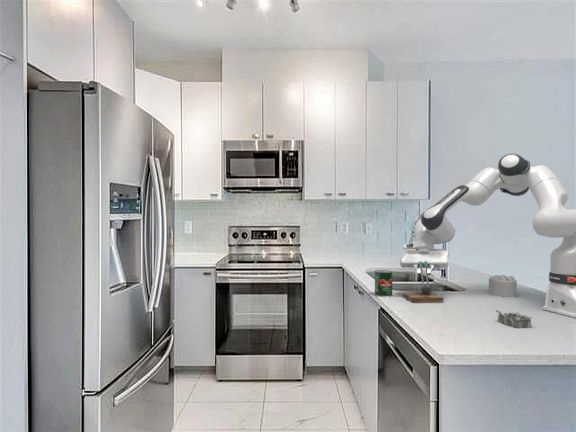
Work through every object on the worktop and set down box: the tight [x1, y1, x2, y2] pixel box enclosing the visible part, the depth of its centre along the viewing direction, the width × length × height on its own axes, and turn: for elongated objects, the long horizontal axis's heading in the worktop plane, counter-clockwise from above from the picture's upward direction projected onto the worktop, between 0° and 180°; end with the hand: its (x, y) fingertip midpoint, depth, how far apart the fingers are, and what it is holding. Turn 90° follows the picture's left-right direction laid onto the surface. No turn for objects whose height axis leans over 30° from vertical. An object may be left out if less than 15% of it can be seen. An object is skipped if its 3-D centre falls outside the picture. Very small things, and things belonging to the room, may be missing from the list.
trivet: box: [402, 291, 444, 304], centre depth 191 cm, size 13×13×2 cm
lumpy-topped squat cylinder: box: [488, 274, 518, 298], centre depth 203 cm, size 10×13×9 cm
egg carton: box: [495, 310, 534, 329], centre depth 151 cm, size 11×8×4 cm
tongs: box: [419, 261, 432, 294], centre depth 192 cm, size 3×4×14 cm
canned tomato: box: [374, 269, 393, 297], centre depth 202 cm, size 8×8×11 cm
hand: (423, 274), depth 191 cm, fingers closed on tongs, 3 cm apart
